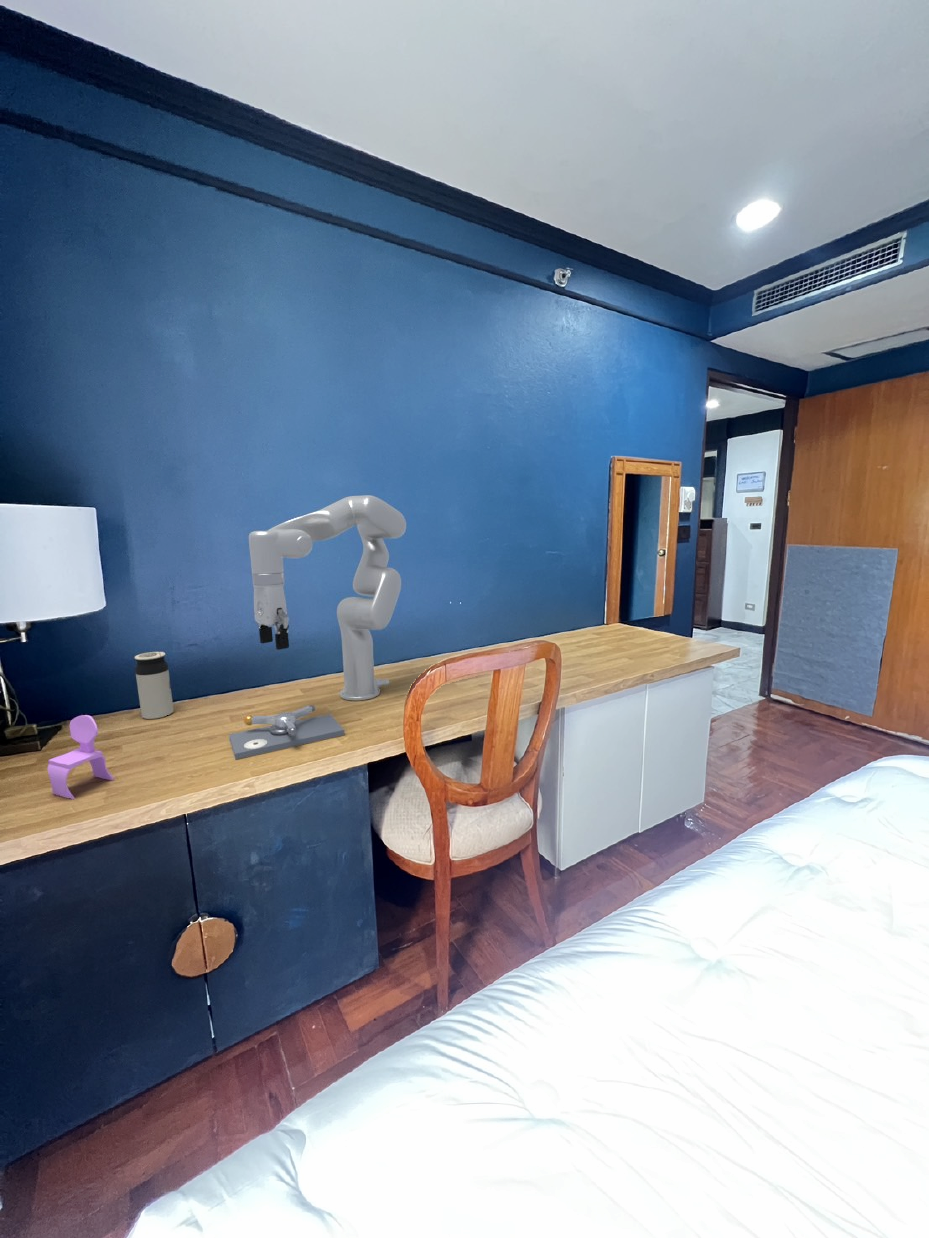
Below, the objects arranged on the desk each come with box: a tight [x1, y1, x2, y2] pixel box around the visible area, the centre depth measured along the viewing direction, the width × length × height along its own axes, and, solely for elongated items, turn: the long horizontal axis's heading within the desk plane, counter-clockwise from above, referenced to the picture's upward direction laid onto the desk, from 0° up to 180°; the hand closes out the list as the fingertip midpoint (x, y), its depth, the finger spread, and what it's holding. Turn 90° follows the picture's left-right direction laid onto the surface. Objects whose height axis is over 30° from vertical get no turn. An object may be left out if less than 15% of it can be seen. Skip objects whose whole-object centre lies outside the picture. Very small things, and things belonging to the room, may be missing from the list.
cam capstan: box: [243, 704, 316, 736], centre depth 128 cm, size 16×17×4 cm
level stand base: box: [228, 713, 345, 760], centre depth 128 cm, size 26×13×2 cm, turn 121°
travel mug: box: [134, 651, 175, 720], centre depth 143 cm, size 8×8×18 cm
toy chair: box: [47, 714, 115, 800], centre depth 103 cm, size 8×9×15 cm
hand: (274, 645), depth 129 cm, fingers open, 9 cm apart
